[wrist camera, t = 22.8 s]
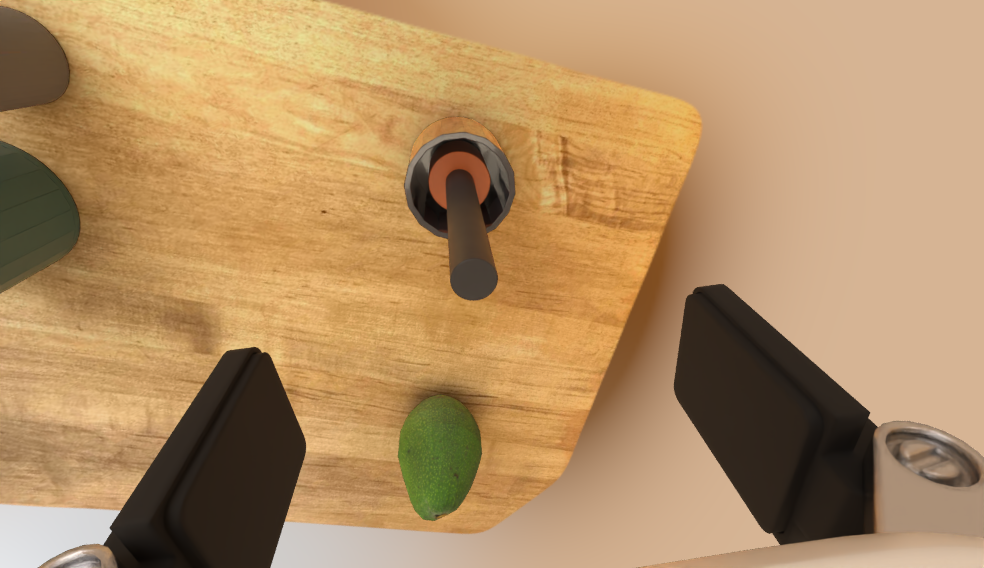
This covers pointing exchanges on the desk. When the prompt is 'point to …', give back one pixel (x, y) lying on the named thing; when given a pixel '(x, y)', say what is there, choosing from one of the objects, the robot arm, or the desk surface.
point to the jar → (32, 217)
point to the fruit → (439, 455)
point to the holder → (418, 174)
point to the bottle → (29, 62)
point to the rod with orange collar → (464, 216)
